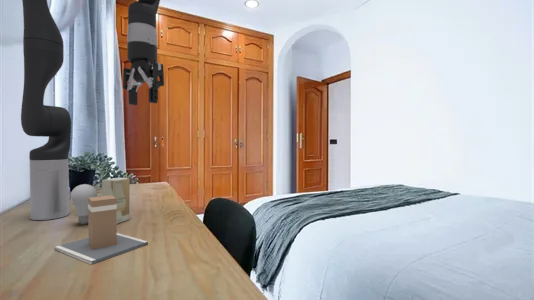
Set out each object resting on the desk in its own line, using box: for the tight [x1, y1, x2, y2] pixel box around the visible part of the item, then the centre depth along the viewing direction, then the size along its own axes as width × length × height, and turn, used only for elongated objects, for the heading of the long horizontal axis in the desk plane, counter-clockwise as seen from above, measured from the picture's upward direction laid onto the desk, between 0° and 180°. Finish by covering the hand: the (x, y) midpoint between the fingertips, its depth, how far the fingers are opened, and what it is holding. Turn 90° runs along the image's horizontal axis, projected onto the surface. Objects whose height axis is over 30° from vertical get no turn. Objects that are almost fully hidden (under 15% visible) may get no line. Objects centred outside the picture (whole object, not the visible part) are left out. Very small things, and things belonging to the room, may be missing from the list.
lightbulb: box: [69, 183, 98, 225], centre depth 77 cm, size 6×6×11 cm
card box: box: [87, 195, 118, 250], centre depth 61 cm, size 5×5×10 cm
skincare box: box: [101, 177, 131, 224], centre depth 80 cm, size 6×4×12 cm
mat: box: [54, 232, 149, 265], centre depth 61 cm, size 14×12×1 cm
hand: (142, 103), depth 78 cm, fingers open, 8 cm apart
